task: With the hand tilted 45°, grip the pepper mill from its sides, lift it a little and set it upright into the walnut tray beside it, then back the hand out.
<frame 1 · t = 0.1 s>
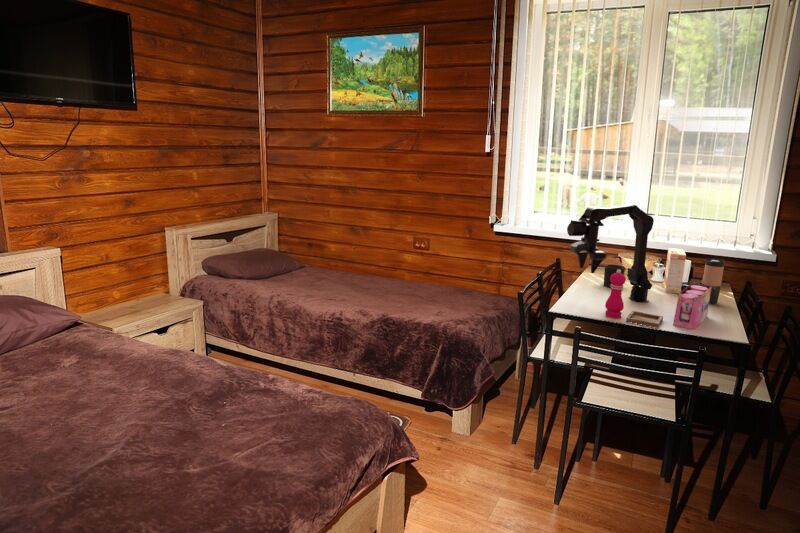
hand: (586, 270, 248), 15 cm above the table, tool pointing down, fingers open, 9 cm apart
pen holder: (612, 286, 281), on the table
gum box: (690, 321, 230), on the table
pepper mill: (613, 316, 233), on the table
travel mug: (708, 302, 258), on the table
coffeecake box: (671, 289, 278), on the table
walnut tray: (644, 321, 227), on the table
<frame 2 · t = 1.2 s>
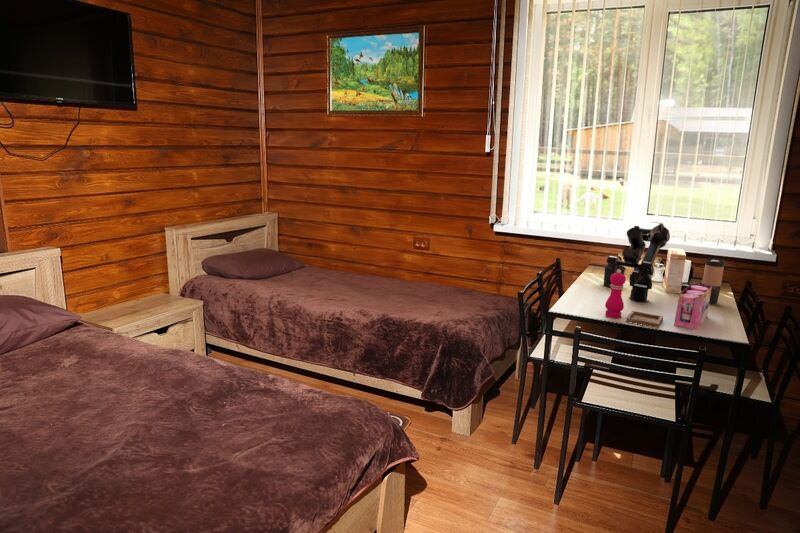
hand: (623, 281, 236), 13 cm above the table, tool tilted 45°, fingers open, 9 cm apart
nothing on the table moved.
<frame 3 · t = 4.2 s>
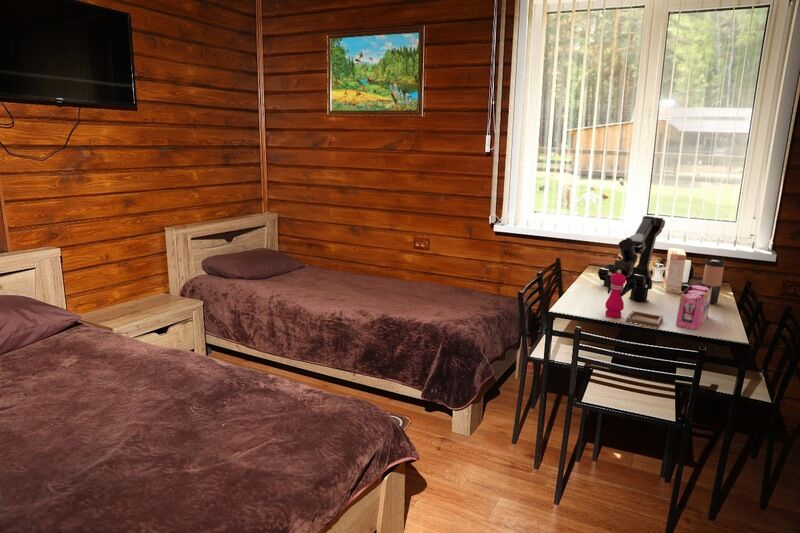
hand: (614, 294, 230), 10 cm above the table, tool tilted 45°, fingers closed on pepper mill, 5 cm apart
pepper mill: (613, 316, 233), on the table, touching gripper
everything else where it was.
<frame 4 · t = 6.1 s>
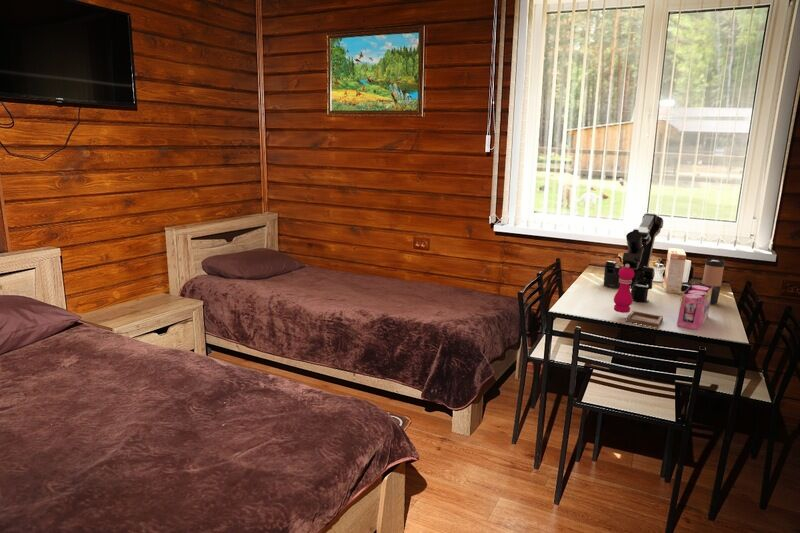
hand: (624, 287, 227), 13 cm above the table, tool tilted 45°, fingers closed on pepper mill, 5 cm apart
pepper mill: (621, 311, 231), point 3 cm above the table, touching gripper
everything else where it was.
when the fingers open (11 cm above the table, at t = 7.7 s): pepper mill stays where it is, resting on walnut tray.
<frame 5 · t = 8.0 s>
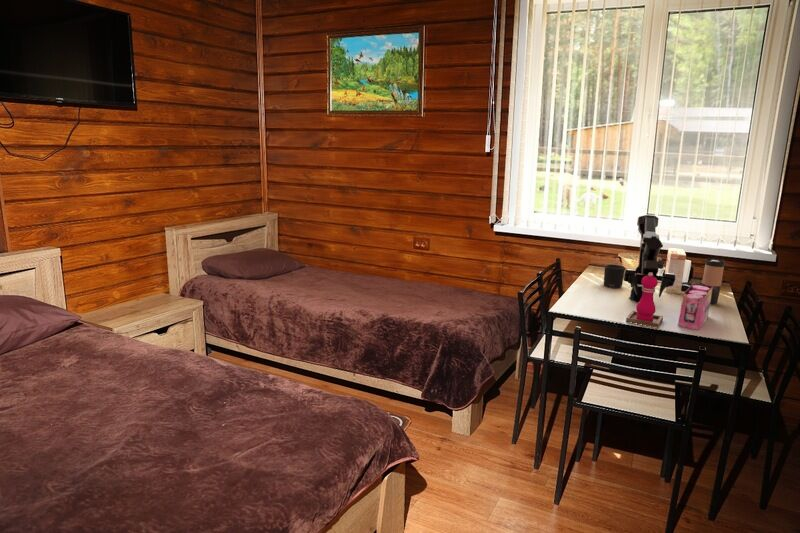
hand: (648, 295, 223), 11 cm above the table, tool tilted 45°, fingers open, 8 cm apart
pepper mill: (644, 320, 227), resting on walnut tray
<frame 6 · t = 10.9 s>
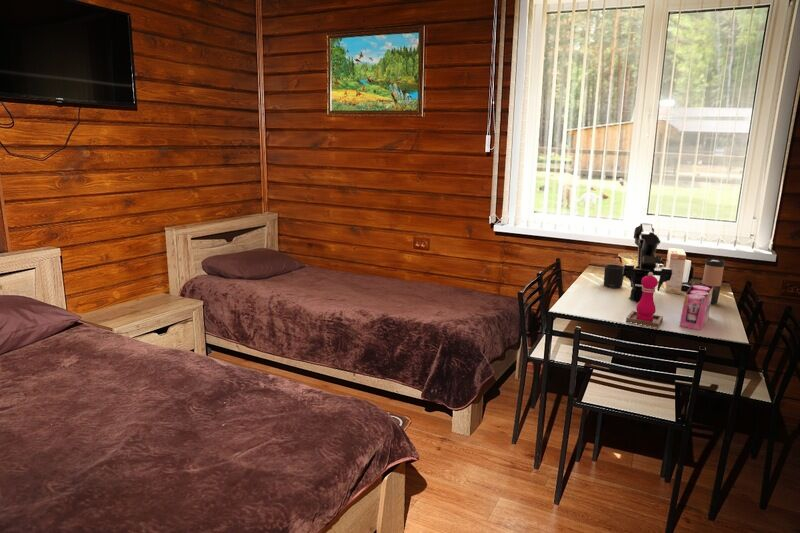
hand: (646, 289, 232), 11 cm above the table, tool tilted 45°, fingers open, 9 cm apart
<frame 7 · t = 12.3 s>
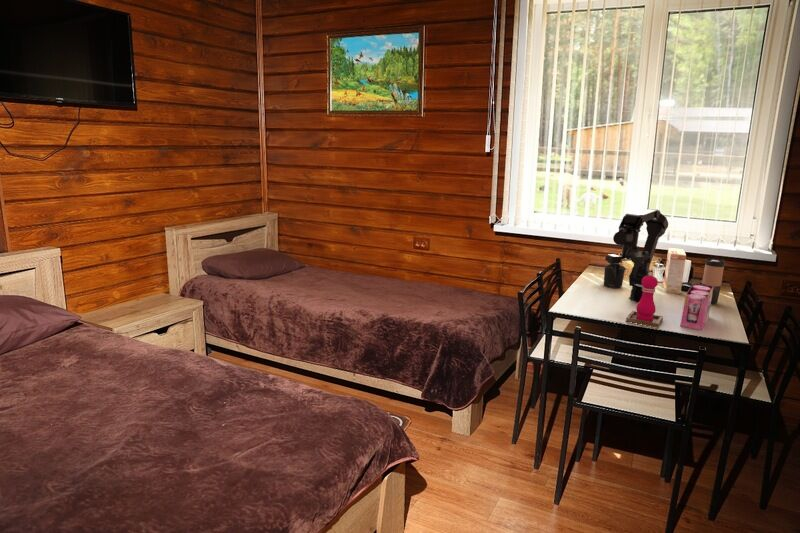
hand: (625, 277, 244), 13 cm above the table, tool pointing down, fingers open, 9 cm apart
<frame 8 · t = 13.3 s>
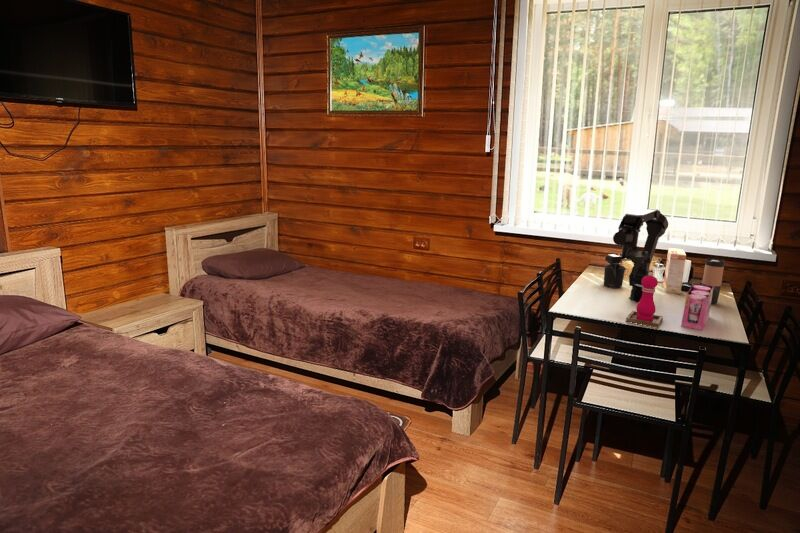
hand: (625, 277, 244), 13 cm above the table, tool pointing down, fingers open, 9 cm apart
at the end: pepper mill 0.3 cm off-centre on the walnut tray, point 0.4 cm above the walnut tray's base; pepper mill tilted 0°; the gripper is holding nothing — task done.
